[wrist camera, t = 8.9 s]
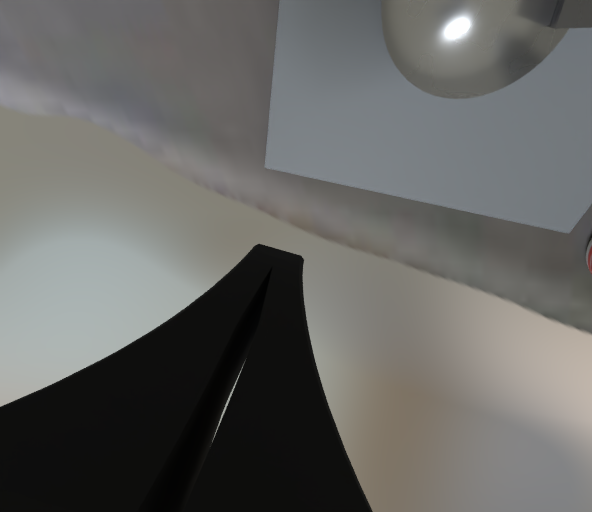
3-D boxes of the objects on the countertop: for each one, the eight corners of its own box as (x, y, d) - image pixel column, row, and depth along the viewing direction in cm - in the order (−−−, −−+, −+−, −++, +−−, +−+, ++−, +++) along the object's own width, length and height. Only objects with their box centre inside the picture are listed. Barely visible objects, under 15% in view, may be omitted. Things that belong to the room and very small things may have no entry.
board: (270, 158, 19) (264, 168, 18) (323, -379, 9) (316, -422, 8) (558, 220, 18) (569, 234, 17) (941, -306, 8) (1015, -344, 7)
